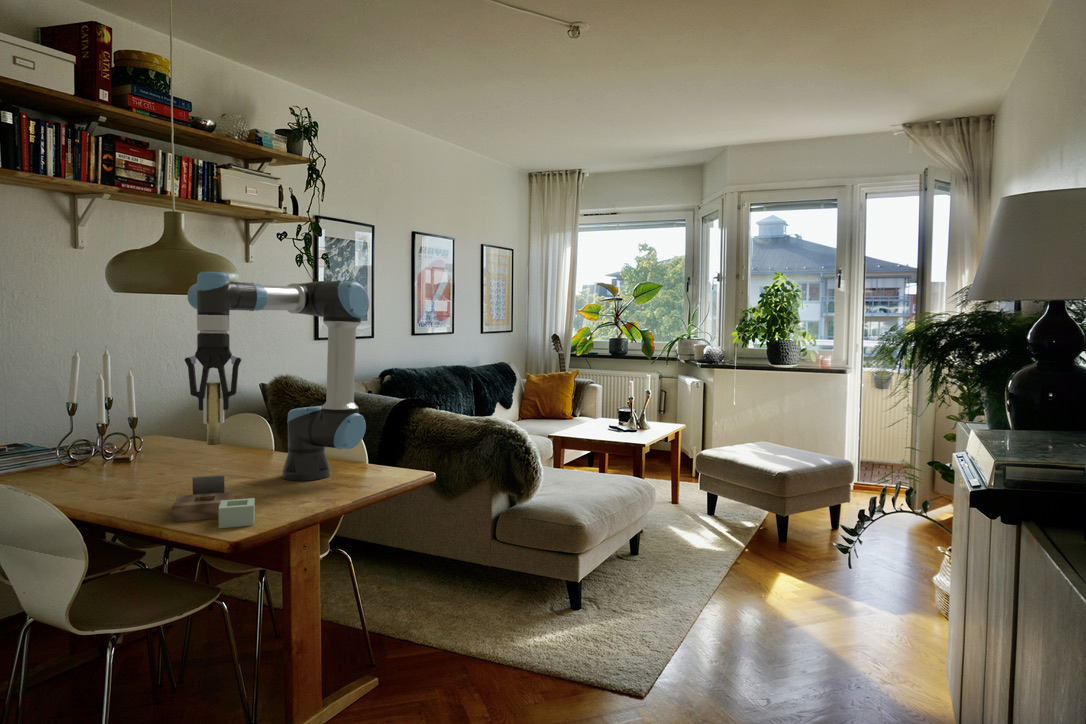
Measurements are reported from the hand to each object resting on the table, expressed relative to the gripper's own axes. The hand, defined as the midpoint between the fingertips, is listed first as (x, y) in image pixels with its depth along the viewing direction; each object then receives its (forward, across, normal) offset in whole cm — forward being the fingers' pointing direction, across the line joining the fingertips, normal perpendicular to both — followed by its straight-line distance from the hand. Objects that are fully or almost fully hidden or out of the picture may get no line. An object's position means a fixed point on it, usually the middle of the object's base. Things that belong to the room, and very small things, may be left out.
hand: (214, 422), depth 177 cm
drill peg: (+6, 0, 0) cm, 6 cm away
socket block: (+25, +3, -4) cm, 25 cm away
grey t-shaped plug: (+25, +3, -11) cm, 27 cm away
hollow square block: (+25, -6, +6) cm, 26 cm away
